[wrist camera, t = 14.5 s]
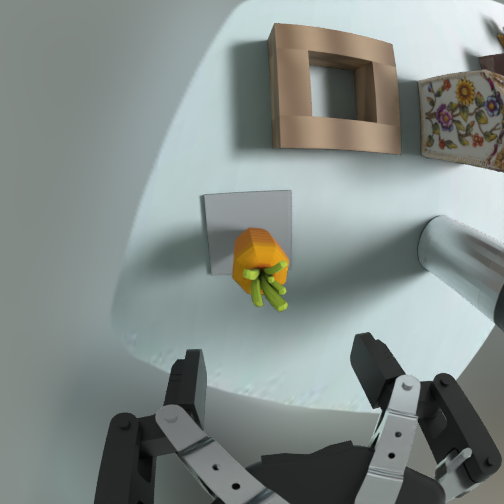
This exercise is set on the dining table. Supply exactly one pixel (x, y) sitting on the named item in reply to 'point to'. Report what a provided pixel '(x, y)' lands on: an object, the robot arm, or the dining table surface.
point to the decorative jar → (464, 118)
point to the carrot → (260, 267)
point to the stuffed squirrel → (501, 39)
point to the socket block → (299, 90)
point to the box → (493, 63)
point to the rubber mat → (245, 222)
